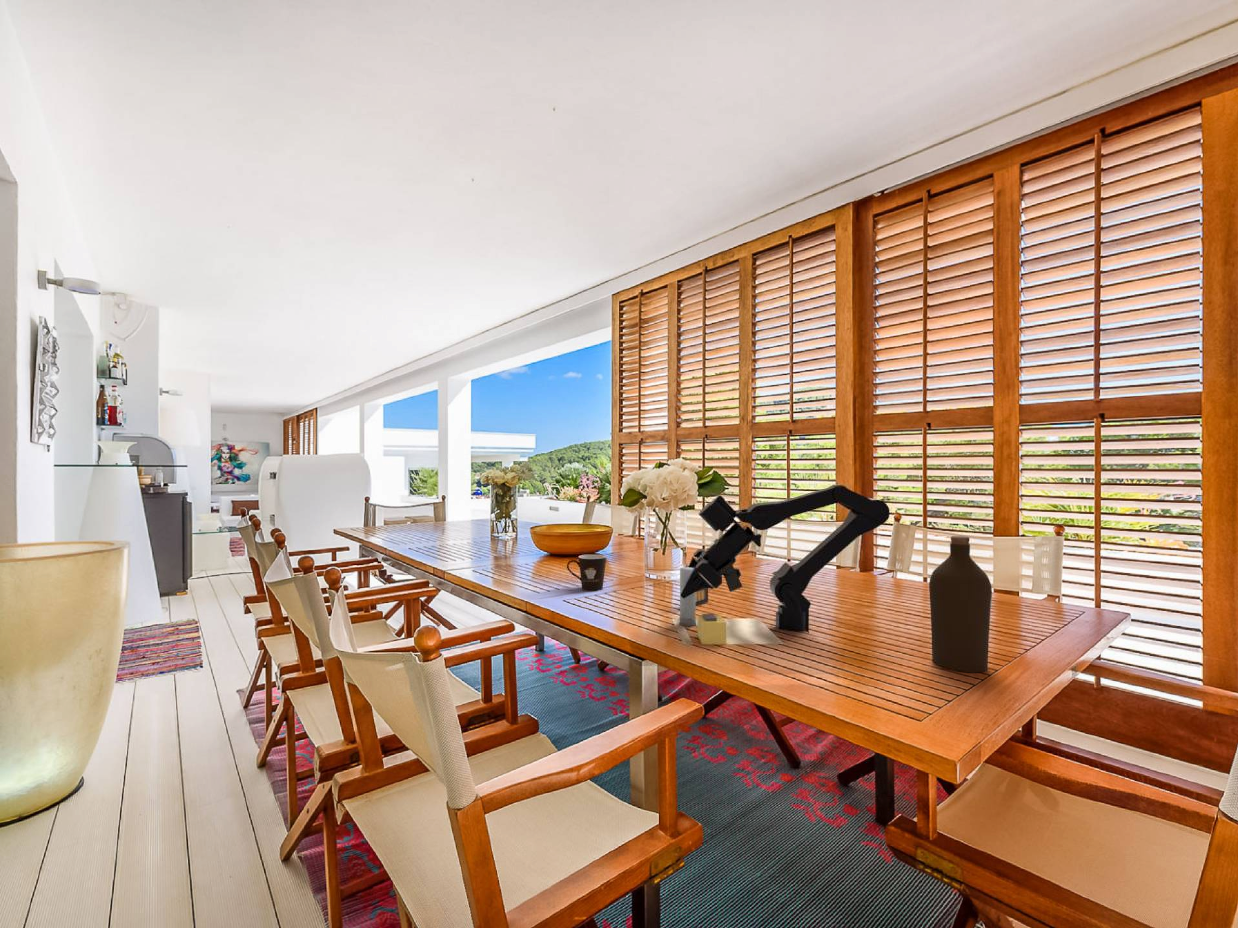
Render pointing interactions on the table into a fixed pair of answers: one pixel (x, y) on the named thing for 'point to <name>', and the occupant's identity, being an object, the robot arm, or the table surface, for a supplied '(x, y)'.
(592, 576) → the coffee mug
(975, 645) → the olive oil
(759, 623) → the panel
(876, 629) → the table surface
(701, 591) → the ammunition clip
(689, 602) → the light grey cylinder
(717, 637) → the block
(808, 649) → the table surface
